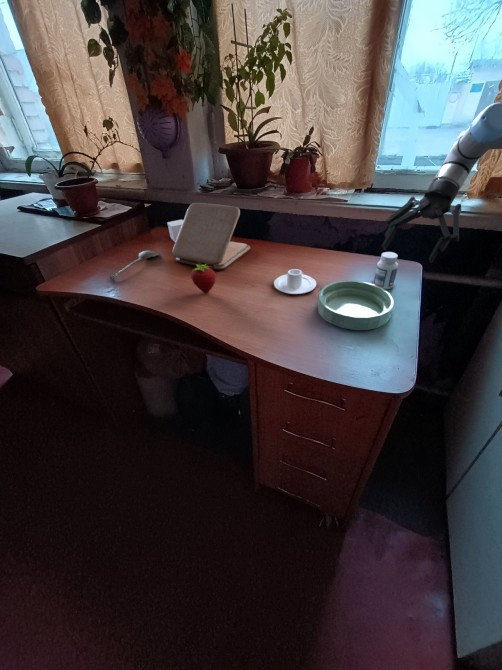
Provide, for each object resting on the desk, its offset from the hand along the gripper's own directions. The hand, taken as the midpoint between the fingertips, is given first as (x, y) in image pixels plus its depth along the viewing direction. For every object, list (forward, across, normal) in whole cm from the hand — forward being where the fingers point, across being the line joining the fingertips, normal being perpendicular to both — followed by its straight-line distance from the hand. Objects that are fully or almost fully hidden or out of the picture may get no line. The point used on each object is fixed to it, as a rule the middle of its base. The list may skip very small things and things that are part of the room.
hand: (405, 254), depth 89 cm
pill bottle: (+12, 0, +3) cm, 12 cm away
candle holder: (+23, +18, +15) cm, 33 cm away
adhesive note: (+24, +77, +16) cm, 82 cm away
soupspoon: (+42, +66, +33) cm, 85 cm away
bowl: (+23, -1, +15) cm, 28 cm away
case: (+25, +53, +17) cm, 61 cm away
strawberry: (+38, +33, +29) cm, 58 cm away
